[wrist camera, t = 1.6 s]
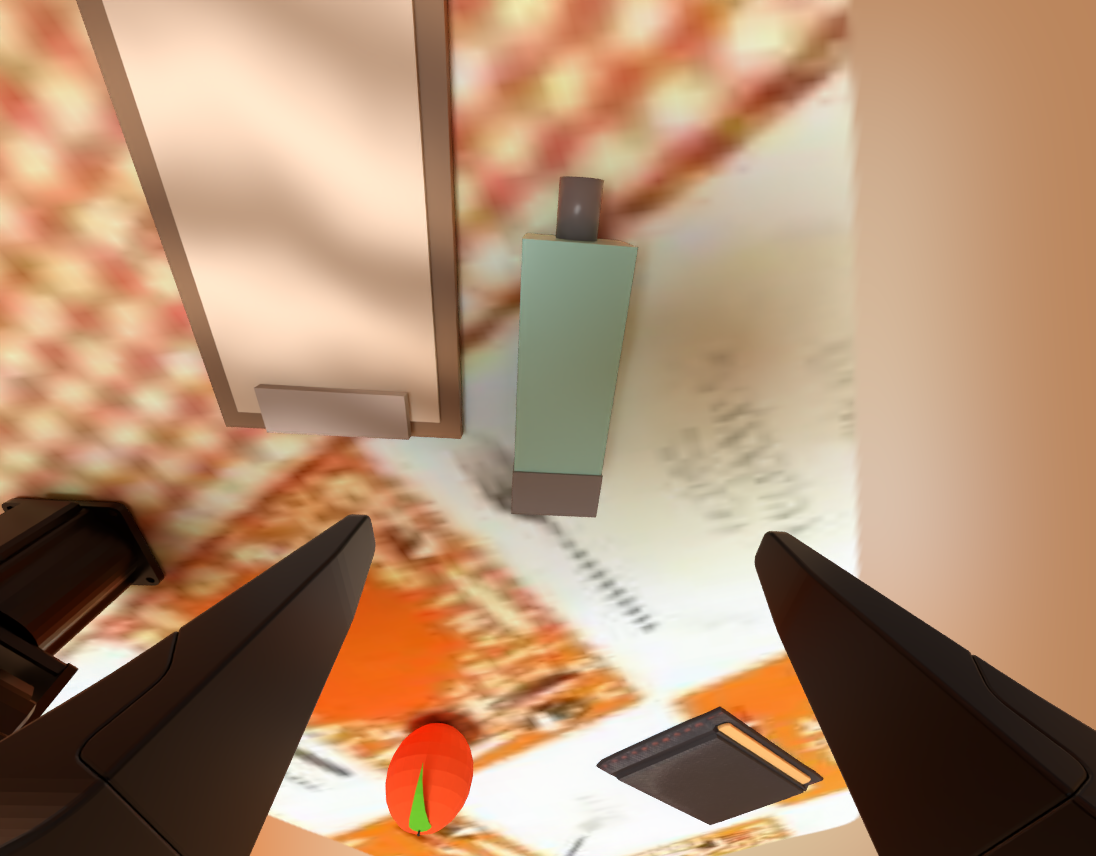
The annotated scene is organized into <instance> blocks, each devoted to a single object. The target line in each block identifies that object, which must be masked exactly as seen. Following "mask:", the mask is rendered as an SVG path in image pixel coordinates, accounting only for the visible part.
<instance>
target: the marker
mask: <svg viewBox="0 0 1096 856" xmlns="http://www.w3.org/2000/svg"><path fill="white" fill-rule="evenodd" d="M603 183H604V180H601V179H594V178H585V177H560V184H559V198H558V212H557V226H556V235H545V234H532V233H526V234H525V236H524V237H523V238H522V265H521V293H520V320H519V348H518V376H517V403H516V431H515V457H514V466H513V482H512V511H511V514H533V515H555V516H577V517H596V514H597V508H598V502H599V496H600V490H601V484H602V477H603V476H602V468H603V461H604V455H605V449H606V443H607V437H608V430H609V424H610V418H611V412H612V406H613V399H614V393H615V387H616V381H617V375H618V368H619V362H620V356H621V350H622V344H623V337H624V331H625V325H626V319H627V313H628V306H629V300H630V294H631V288H632V282H633V275H634V269H635V263H636V257H637V250H638V247H636V246H633V245H630V244H628V243H625V242H622V241H619V240H610V239H597V235H598V227H599V218H600V209H601V201H602V192H603Z"/></svg>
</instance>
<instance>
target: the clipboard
mask: <svg viewBox="0 0 1096 856" xmlns="http://www.w3.org/2000/svg"><path fill="white" fill-rule="evenodd" d="M76 1H77V4H78V7H79V10H80V13H81V15H82V18H83V21H84V24H85V27H86V30H87V32H88V35H89V38H90V41H91V44H92V47H93V49H94V52H95V55H96V58H97V61H98V64H99V67H100V69H101V72H102V75H103V78H104V81H105V84H106V86H107V89H108V92H109V95H110V98H111V101H112V103H113V106H114V109H115V112H116V115H117V118H118V120H119V123H120V126H121V129H122V132H123V135H124V137H125V140H126V143H127V146H128V149H129V152H130V155H131V157H132V160H133V163H134V166H135V169H136V172H137V174H138V177H139V180H140V183H141V186H142V189H143V191H144V194H145V197H146V200H147V203H148V206H149V208H150V211H151V214H152V217H153V220H154V223H155V225H156V228H157V231H158V234H159V237H160V240H161V243H162V245H163V248H164V251H165V254H166V257H167V260H168V262H169V265H170V268H171V271H172V274H173V277H174V279H175V282H176V285H177V288H178V291H179V294H180V296H181V299H182V302H183V305H184V308H185V311H186V313H187V316H188V319H189V322H190V325H191V328H192V331H193V333H194V336H195V339H196V342H197V345H198V348H199V350H200V353H201V356H202V359H203V362H204V365H205V367H206V370H207V373H208V376H209V379H210V382H211V384H212V387H213V390H214V393H215V396H216V399H217V401H218V404H219V407H220V410H221V413H222V416H223V419H224V421H225V424H226V427H245V428H264V429H266V430H267V432H271V433H290V434H309V435H329V436H348V437H367V438H387V439H406V440H409V438H410V437H411V436H417V437H436V438H456V439H461V437H462V434H463V426H462V398H461V371H460V343H459V315H458V288H457V260H456V232H455V204H454V177H453V149H452V121H451V94H450V66H449V38H448V10H447V0H76Z"/></svg>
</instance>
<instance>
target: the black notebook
mask: <svg viewBox="0 0 1096 856" xmlns="http://www.w3.org/2000/svg"><path fill="white" fill-rule="evenodd" d="M596 766H597V767H598V768H600V769H602V770H603V771H605V772H607V773H609V774H611V775H613V776H615V777H617V779H618V780H620V781H622V782H624V783H626V784H628V785H630V786H632V787H634V788H636V789H638V790H640V791H642V792H644V793H646V794H648V795H650V796H652V797H654V798H656V799H658V800H660V801H662V802H664V803H666V804H668V805H670V806H672V807H674V808H676V809H678V810H680V811H682V812H685V813H687V814H689V815H691V816H693V817H695V818H697V819H699V820H701V821H703V822H705V823H707V824H709V825H712V824H715V823H718V822H722V821H724V820H727V819H730V818H733V817H736V816H739V815H742V814H744V813H747V812H750V811H753V810H756V809H759V808H762V807H764V806H767V805H770V804H773V803H776V802H779V801H782V800H784V799H787V798H790V797H792V796H795V795H798V794H801V793H803V791H806V790H807V788H808V785H811V784H814V783H817V782H819V781H822V780H823V777H821V776H820V775H819V774H818V773H816V772H815V771H814V770H812V769H811V768H809V767H807V766H806V765H804V764H802V763H801V762H800V761H798V760H797V759H795V758H794V757H792V756H791V755H789V754H788V753H787V752H785V751H784V750H782V749H781V748H779V747H778V746H776V745H775V744H773V743H772V742H771V741H769V740H768V739H766V738H765V737H763V736H762V735H760V734H759V733H758V732H756V731H755V730H753V729H752V728H750V727H749V726H747V725H746V724H745V723H743V722H742V721H740V720H739V719H737V718H736V717H734V716H733V715H732V714H730V713H729V712H727V711H726V710H724V709H723V708H721V707H718V708H716V709H714V710H711V711H709V712H707V713H705V714H702V715H700V716H697V717H695V718H692V719H690V720H687V721H685V722H683V723H681V724H679V725H676V726H674V727H672V728H670V729H667V730H665V731H663V732H661V733H659V734H656V735H654V736H652V737H650V738H648V739H645V740H643V741H641V742H639V743H636V744H634V745H632V746H630V747H628V748H625V749H623V750H621V751H619V752H617V753H614V754H612V755H610V756H608V757H606V758H604V759H602V760H601V761H600V762H599V763H598V764H597V765H596Z"/></svg>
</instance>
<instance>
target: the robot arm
mask: <svg viewBox="0 0 1096 856" xmlns="http://www.w3.org/2000/svg"><path fill="white" fill-rule="evenodd" d="M2 508H3V510H4V511H5V512H4V513H3V514H1V515H0V856H250V853H251V851H252V849H253V847H254V845H255V842H256V840H257V838H258V835H259V833H260V831H261V829H262V826H263V824H264V822H265V819H266V817H267V815H268V813H269V810H270V808H271V806H272V804H273V801H274V799H275V797H276V794H277V792H278V790H279V788H280V785H281V783H282V781H283V778H284V776H285V774H286V772H287V769H288V767H289V765H290V763H291V760H292V758H293V756H294V753H295V751H296V749H297V747H298V744H299V742H300V740H301V737H302V735H303V733H304V731H305V728H306V726H307V724H308V721H309V719H310V717H311V715H312V712H313V710H314V708H315V706H316V703H317V701H318V699H319V696H320V694H321V692H322V690H323V687H324V685H325V683H326V680H327V678H328V676H329V674H330V671H331V669H332V667H333V665H334V662H335V660H336V658H337V655H338V653H339V651H340V649H341V646H342V644H343V642H344V639H345V637H346V635H347V633H348V630H349V628H350V626H351V623H352V621H353V618H354V615H355V612H356V609H357V606H358V603H359V600H360V597H361V594H362V591H363V587H364V584H365V581H366V578H367V575H368V572H369V568H370V565H371V562H372V559H373V556H374V552H375V538H374V533H373V528H372V523H371V519H370V517H369V516H367V515H353V514H352V515H348V516H346V517H345V518H343V519H342V520H340V521H339V522H337V523H336V524H334V525H333V526H331V527H330V528H328V529H327V530H326V531H324V532H323V533H321V534H320V535H318V536H317V537H315V538H314V539H312V540H311V541H309V542H308V543H306V544H305V545H303V546H302V547H300V548H299V549H297V550H296V551H294V552H293V553H291V554H290V555H288V556H287V557H285V558H284V559H282V560H281V561H279V562H278V563H276V564H275V565H273V566H272V567H270V568H269V569H267V570H266V571H264V572H263V573H261V574H260V575H259V576H257V577H256V578H254V579H253V580H251V581H250V582H248V583H247V584H245V585H244V586H242V587H241V588H239V589H238V590H236V591H235V592H233V593H232V594H230V595H229V596H227V597H226V598H224V599H223V600H221V601H220V602H218V603H217V604H215V605H214V606H212V607H211V608H209V609H208V610H206V611H205V612H203V613H202V614H200V615H199V616H197V617H196V618H194V619H193V620H192V621H190V622H189V623H187V624H186V625H184V626H183V627H181V628H180V629H179V632H173V633H172V634H170V635H169V636H167V637H166V638H164V639H163V640H161V641H160V642H159V643H157V644H156V645H154V646H153V647H151V648H150V649H148V650H146V651H145V652H143V653H142V654H140V655H139V656H137V657H136V658H134V659H133V660H131V661H130V662H128V663H127V664H125V665H123V666H122V667H120V668H119V669H117V670H116V671H114V672H113V673H111V674H110V675H108V676H106V677H105V678H103V679H101V680H100V681H98V682H97V683H95V684H93V685H92V686H90V687H88V688H87V689H85V690H83V691H82V692H80V693H79V694H77V695H75V696H74V697H72V698H70V699H69V700H67V701H66V702H64V703H62V704H61V705H59V706H57V707H56V708H54V709H52V710H51V711H49V712H47V713H46V714H44V715H42V714H43V712H44V711H45V710H46V709H47V707H48V706H49V705H50V704H51V703H52V701H53V700H54V699H55V698H56V696H57V695H58V694H59V693H60V691H61V690H62V689H63V688H64V687H65V685H66V684H67V683H68V682H69V680H70V679H71V678H72V677H73V675H74V674H75V673H76V672H77V670H78V668H77V667H75V666H73V665H72V664H70V663H68V664H65V663H64V662H62V661H60V660H59V659H57V658H55V657H54V655H55V654H56V653H57V652H58V651H59V650H60V649H61V648H62V647H63V646H65V645H66V644H67V643H68V642H69V641H70V640H71V639H72V638H73V637H74V636H76V635H77V634H78V633H79V632H80V631H81V630H82V629H83V628H84V627H85V626H86V625H88V624H89V623H90V622H91V621H92V620H93V619H94V618H95V617H96V616H97V615H99V614H100V613H101V612H102V611H103V610H104V609H105V608H106V607H107V606H108V605H110V604H111V603H112V602H113V601H114V600H115V599H116V598H117V597H118V596H119V595H121V594H122V593H123V592H124V591H125V590H126V589H127V588H128V587H129V586H130V585H158V584H159V583H160V582H161V581H162V580H163V579H164V575H163V573H162V571H161V569H160V568H159V566H158V564H157V562H156V560H155V558H154V557H153V555H152V553H151V551H150V549H149V547H148V546H147V544H146V542H145V540H144V538H143V536H142V535H141V533H140V531H139V529H138V527H137V525H136V524H135V522H134V520H133V518H132V516H131V514H130V513H129V511H128V509H127V508H126V507H125V506H124V505H122V504H120V503H115V502H92V501H69V500H46V499H22V498H13V499H11V500H9V501H7V502H5V503H3V504H2ZM755 567H756V571H757V574H758V577H759V580H760V583H761V585H762V588H763V591H764V594H765V597H766V600H767V603H768V606H769V609H770V612H771V615H772V618H773V621H774V624H775V626H776V629H777V632H778V634H779V636H780V639H781V641H782V643H783V645H784V648H785V650H786V652H787V654H788V657H789V659H790V661H791V663H792V665H793V668H794V670H795V672H796V674H797V676H798V679H799V681H800V683H801V685H802V687H803V690H804V692H805V694H806V696H807V699H808V701H809V703H810V705H811V707H812V710H813V712H814V714H815V716H816V718H817V721H818V723H819V725H820V727H821V729H822V732H823V734H824V736H825V738H826V741H827V743H828V745H829V747H830V749H831V752H832V754H833V756H834V758H835V760H836V763H837V765H838V767H839V769H840V771H841V774H842V776H843V778H844V780H845V782H846V785H847V787H848V789H849V791H850V794H851V796H852V798H853V800H854V802H855V805H856V807H857V809H858V811H859V813H860V816H861V818H862V820H863V822H864V824H865V827H866V829H867V831H868V833H869V836H870V838H871V840H872V842H873V844H874V846H875V849H876V851H877V853H878V855H879V856H1096V730H1094V729H1092V728H1091V727H1089V726H1087V725H1085V724H1084V723H1082V722H1081V721H1079V720H1077V719H1075V718H1074V717H1072V716H1071V715H1069V714H1067V713H1066V712H1064V711H1062V710H1061V709H1059V708H1058V707H1056V706H1054V705H1053V704H1051V703H1049V702H1048V701H1046V700H1044V699H1043V698H1041V697H1039V696H1038V695H1036V694H1035V693H1033V692H1032V691H1030V690H1028V689H1027V688H1025V687H1024V686H1022V685H1021V684H1019V683H1017V682H1016V681H1014V680H1013V679H1011V678H1010V677H1008V676H1007V675H1005V674H1003V673H1002V672H1000V671H999V670H997V669H995V668H994V667H993V666H991V665H989V664H988V663H987V662H985V661H983V660H982V659H980V658H979V657H977V656H976V655H971V653H970V652H969V651H968V650H966V649H965V648H963V647H962V646H960V645H959V644H957V643H956V642H954V641H953V640H951V639H950V638H948V637H947V636H945V635H943V634H942V633H940V632H939V631H937V630H936V629H934V628H933V627H931V626H930V625H928V624H926V623H925V622H924V621H922V620H920V619H919V618H917V617H916V616H914V615H912V614H911V613H910V612H908V611H907V610H905V609H904V608H902V607H900V606H899V605H897V604H896V603H894V602H893V601H891V600H890V599H888V598H887V597H885V596H884V595H882V594H881V593H879V592H878V591H876V590H874V589H873V588H871V587H870V586H868V585H867V584H865V583H864V582H862V581H861V580H859V579H858V578H856V577H855V576H853V575H851V574H850V573H848V572H847V571H845V570H844V569H842V568H841V567H839V566H838V565H836V564H835V563H833V562H832V561H830V560H828V559H827V558H825V557H824V556H822V555H821V554H819V553H818V552H816V551H815V550H813V549H812V548H810V547H809V546H807V545H805V544H804V543H802V542H801V541H799V540H798V539H796V538H795V537H793V536H792V535H790V534H788V533H786V532H779V531H769V532H767V533H765V535H764V537H763V539H762V541H761V544H760V546H759V548H758V551H757V553H756V556H755ZM41 715H42V716H41ZM40 716H41V717H40Z"/></svg>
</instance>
